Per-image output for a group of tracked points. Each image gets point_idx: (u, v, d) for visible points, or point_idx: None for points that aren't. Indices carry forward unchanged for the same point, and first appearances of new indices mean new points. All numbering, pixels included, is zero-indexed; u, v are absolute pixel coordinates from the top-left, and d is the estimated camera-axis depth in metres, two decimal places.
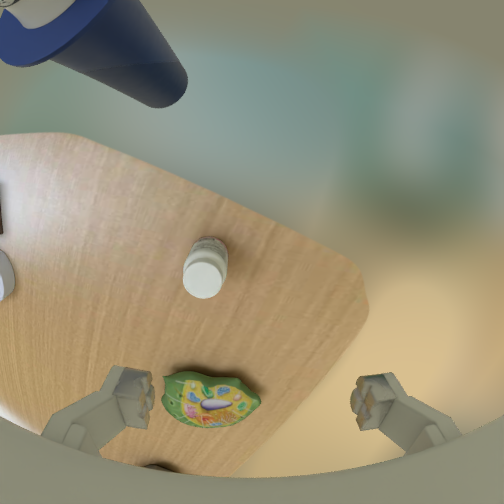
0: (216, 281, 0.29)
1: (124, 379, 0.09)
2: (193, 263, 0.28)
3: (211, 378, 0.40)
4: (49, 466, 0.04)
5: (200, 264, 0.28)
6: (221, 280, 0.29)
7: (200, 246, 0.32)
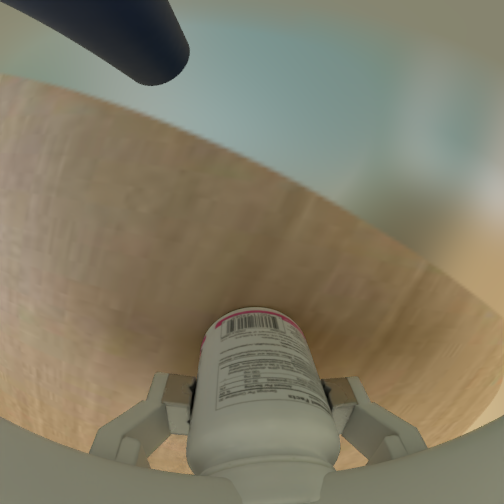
0: None
1: (171, 386, 0.09)
2: None
3: None
4: (49, 466, 0.04)
5: None
6: None
7: (243, 374, 0.08)
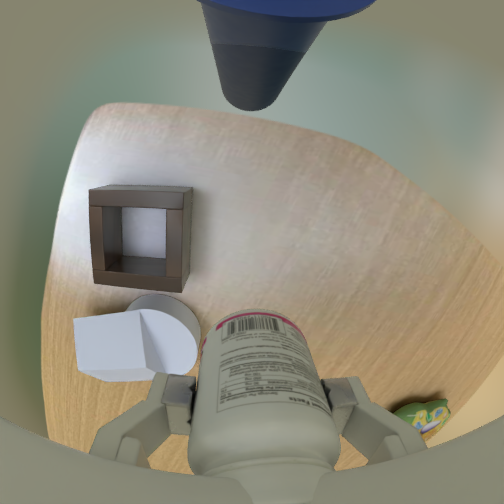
0: None
1: (171, 386, 0.09)
2: None
3: (426, 404, 0.35)
4: (49, 466, 0.04)
5: None
6: None
7: (244, 376, 0.08)
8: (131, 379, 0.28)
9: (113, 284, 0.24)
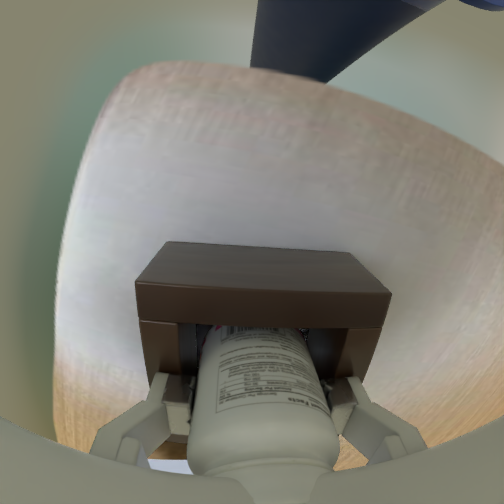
0: None
1: (171, 386, 0.09)
2: None
3: None
4: (49, 466, 0.04)
5: None
6: None
7: (243, 377, 0.08)
8: None
9: None
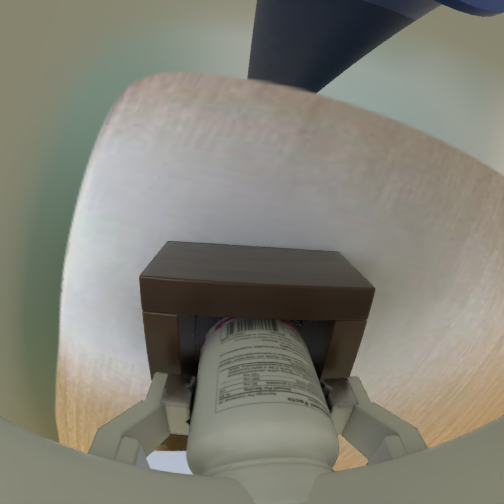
0: None
1: (170, 386, 0.09)
2: None
3: None
4: (49, 466, 0.04)
5: None
6: None
7: (243, 377, 0.08)
8: None
9: None
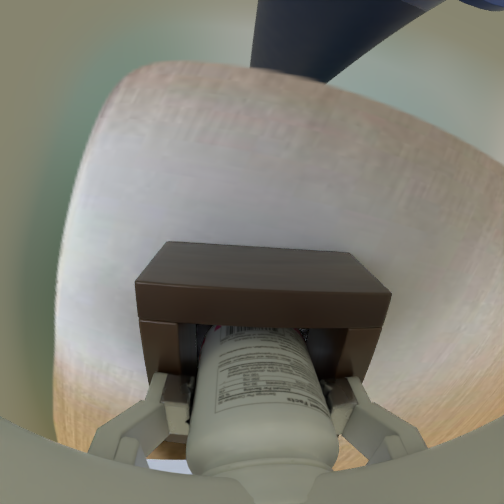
0: None
1: (170, 386, 0.09)
2: None
3: None
4: (49, 466, 0.04)
5: None
6: None
7: (242, 377, 0.08)
8: None
9: None
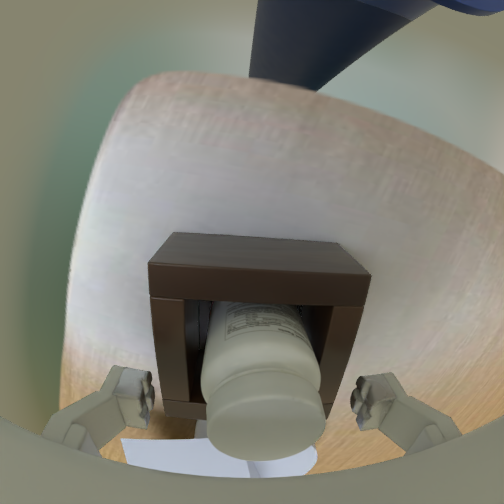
0: (308, 432, 0.08)
1: (124, 379, 0.09)
2: (241, 398, 0.08)
3: None
4: (49, 466, 0.04)
5: (268, 401, 0.08)
6: (322, 427, 0.08)
7: (245, 316, 0.11)
8: None
9: (205, 419, 0.13)
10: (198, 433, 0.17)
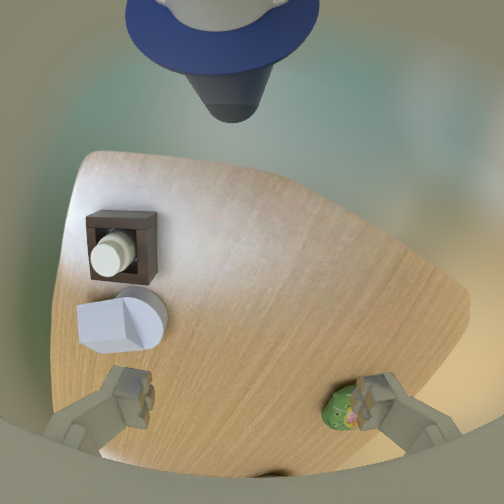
0: (115, 261, 0.30)
1: (124, 379, 0.09)
2: (97, 245, 0.29)
3: None
4: (49, 466, 0.04)
5: (102, 245, 0.29)
6: (119, 260, 0.30)
7: (112, 232, 0.33)
8: (118, 350, 0.39)
9: (104, 279, 0.35)
10: None
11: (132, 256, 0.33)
